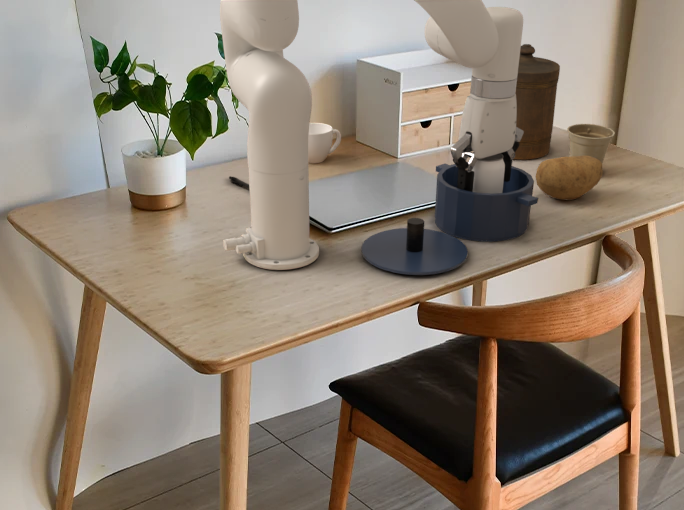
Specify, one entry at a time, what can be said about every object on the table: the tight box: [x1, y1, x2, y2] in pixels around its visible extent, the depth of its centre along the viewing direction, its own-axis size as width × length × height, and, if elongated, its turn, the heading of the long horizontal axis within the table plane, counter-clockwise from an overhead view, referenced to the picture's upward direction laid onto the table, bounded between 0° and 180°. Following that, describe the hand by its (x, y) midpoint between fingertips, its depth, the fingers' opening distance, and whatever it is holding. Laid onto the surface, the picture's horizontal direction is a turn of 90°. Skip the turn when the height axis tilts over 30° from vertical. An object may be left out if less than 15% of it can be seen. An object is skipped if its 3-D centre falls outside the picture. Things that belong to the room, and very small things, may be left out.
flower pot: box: [566, 123, 616, 165], centre depth 187 cm, size 9×9×9 cm
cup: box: [308, 122, 342, 164], centre depth 192 cm, size 8×10×7 cm
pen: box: [228, 175, 250, 191], centre depth 178 cm, size 14×2×1 cm, turn 40°
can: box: [468, 151, 505, 194], centre depth 163 cm, size 6×6×12 cm
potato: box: [535, 155, 604, 201], centre depth 175 cm, size 10×14×8 cm
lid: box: [361, 217, 468, 276], centre depth 152 cm, size 18×18×6 cm
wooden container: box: [513, 43, 561, 161], centre depth 195 cm, size 15×15×22 cm
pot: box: [434, 161, 539, 243], centre depth 164 cm, size 17×22×8 cm
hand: (483, 185), depth 162 cm, fingers open, 9 cm apart
